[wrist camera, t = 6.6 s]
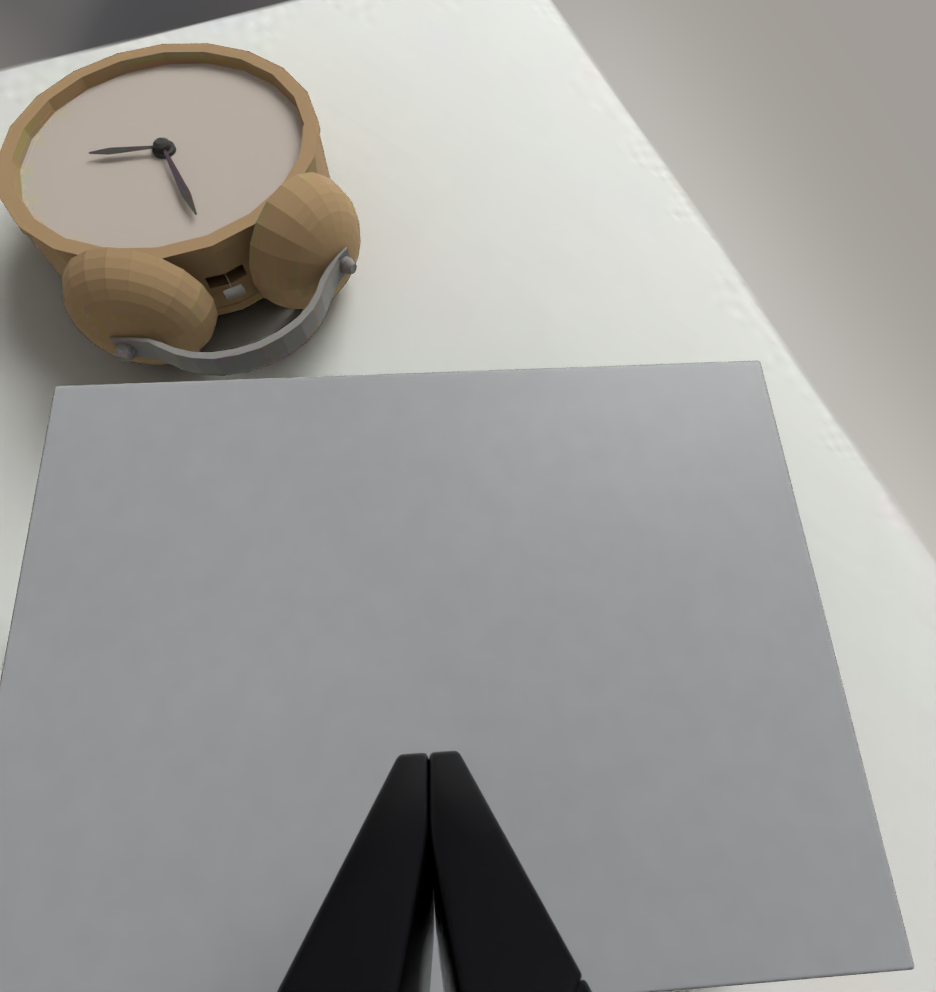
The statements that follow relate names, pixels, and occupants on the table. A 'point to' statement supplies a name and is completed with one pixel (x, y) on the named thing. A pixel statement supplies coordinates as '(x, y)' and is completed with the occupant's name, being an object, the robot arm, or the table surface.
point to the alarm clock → (181, 202)
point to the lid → (428, 674)
